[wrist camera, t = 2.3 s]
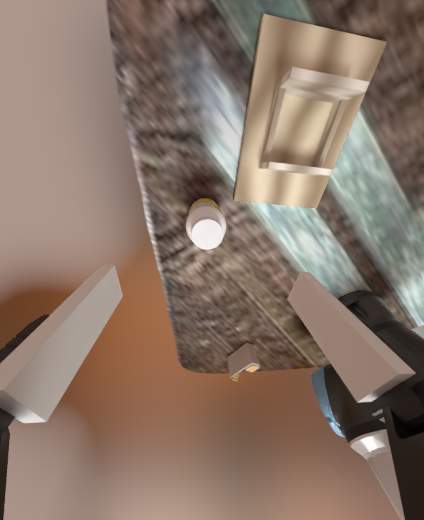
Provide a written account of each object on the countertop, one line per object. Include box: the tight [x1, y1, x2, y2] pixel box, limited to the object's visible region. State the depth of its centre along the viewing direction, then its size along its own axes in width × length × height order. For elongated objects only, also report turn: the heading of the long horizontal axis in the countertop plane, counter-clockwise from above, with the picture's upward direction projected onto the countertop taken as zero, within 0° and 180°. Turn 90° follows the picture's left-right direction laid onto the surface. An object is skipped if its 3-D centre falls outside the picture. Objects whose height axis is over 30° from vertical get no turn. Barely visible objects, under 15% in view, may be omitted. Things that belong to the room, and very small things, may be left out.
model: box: [227, 343, 260, 382], centre depth 51 cm, size 3×11×8 cm, turn 143°
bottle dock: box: [233, 14, 387, 208], centre depth 22 cm, size 16×20×5 cm
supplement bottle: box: [186, 198, 226, 249], centre depth 24 cm, size 6×6×11 cm
